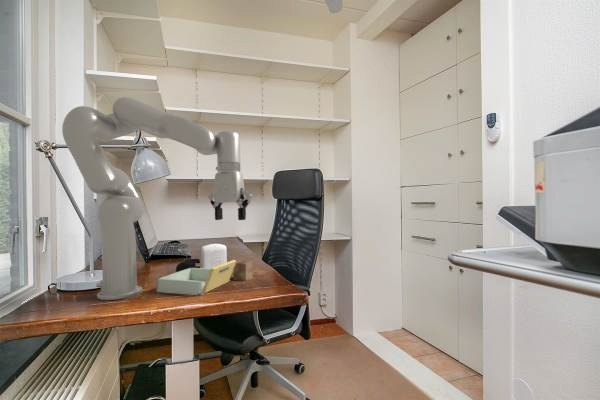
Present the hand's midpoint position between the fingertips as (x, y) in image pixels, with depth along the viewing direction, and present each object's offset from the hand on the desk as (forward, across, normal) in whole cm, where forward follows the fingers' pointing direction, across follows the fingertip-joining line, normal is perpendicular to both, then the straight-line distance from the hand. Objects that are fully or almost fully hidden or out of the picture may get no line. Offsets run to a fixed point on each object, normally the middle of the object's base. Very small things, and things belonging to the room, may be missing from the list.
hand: (230, 219), depth 108 cm
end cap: (+23, -26, +7) cm, 36 cm away
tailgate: (+22, -2, -5) cm, 22 cm away
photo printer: (+23, -18, +12) cm, 31 cm away
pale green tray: (+23, -10, -6) cm, 26 cm away
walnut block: (+23, -1, +8) cm, 24 cm away
